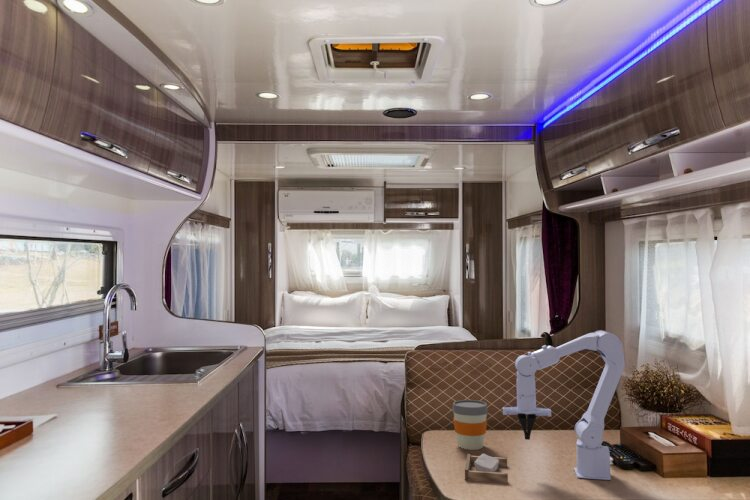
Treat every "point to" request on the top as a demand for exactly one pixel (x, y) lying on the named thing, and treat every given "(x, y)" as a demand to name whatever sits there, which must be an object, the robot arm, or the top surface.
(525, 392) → the robot arm
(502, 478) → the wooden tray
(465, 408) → the reusable coffee cup
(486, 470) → the white rough stone
